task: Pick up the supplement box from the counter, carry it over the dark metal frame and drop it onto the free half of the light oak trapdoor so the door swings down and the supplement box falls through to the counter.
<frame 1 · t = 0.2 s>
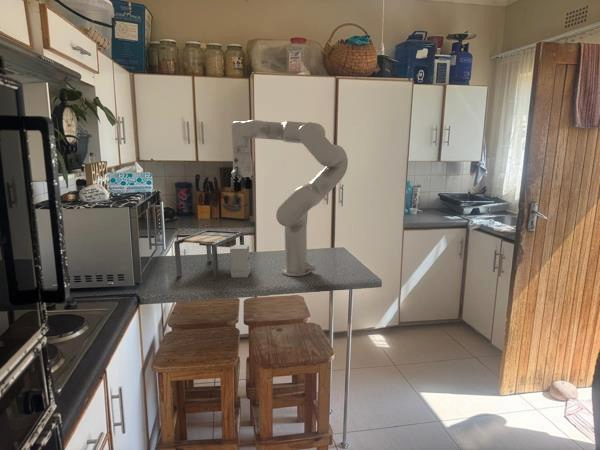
hand: (243, 190, 174), 36 cm above the countertop, tool pointing down, fingers open, 9 cm apart
supplement box: (241, 275, 171), on the countertop
frame: (215, 268, 181), on the countertop
trapdoor: (210, 242, 176), point 13 cm above the countertop, hinge at 0.0°
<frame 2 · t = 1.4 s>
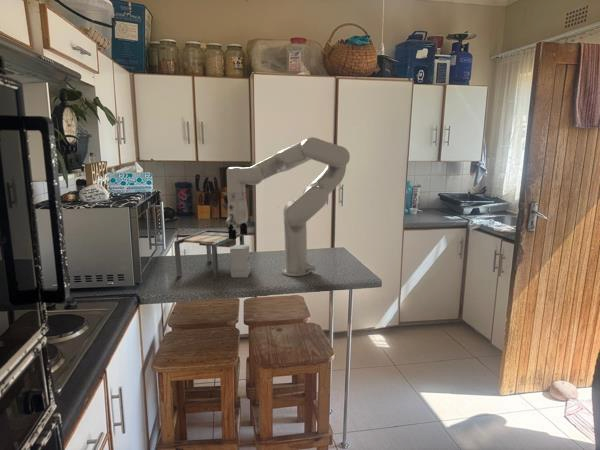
hand: (238, 236, 168), 17 cm above the countertop, tool pointing down, fingers open, 9 cm apart
nothing on the countertop moved.
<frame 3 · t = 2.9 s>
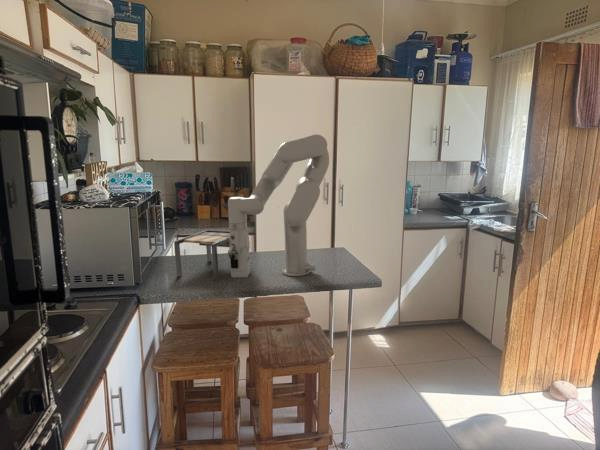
hand: (240, 264, 170), 4 cm above the countertop, tool pointing down, fingers closed on supplement box, 9 cm apart
supplement box: (241, 275, 171), on the countertop, touching gripper
everything else where it was.
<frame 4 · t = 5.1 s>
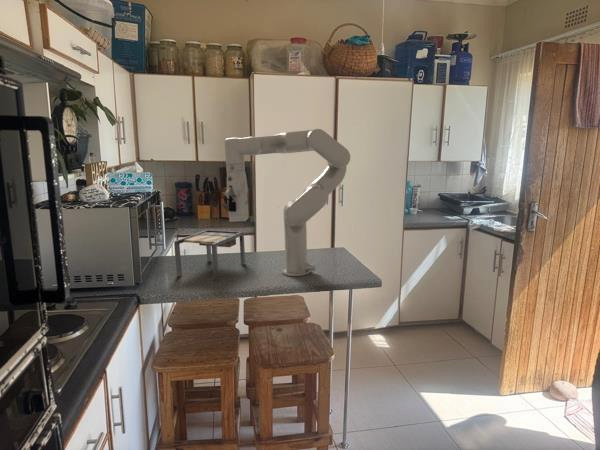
hand: (238, 209, 166), 29 cm above the countertop, tool pointing down, fingers closed on supplement box, 8 cm apart
supplement box: (239, 220, 167), point 24 cm above the countertop, touching gripper
everything else where it was.
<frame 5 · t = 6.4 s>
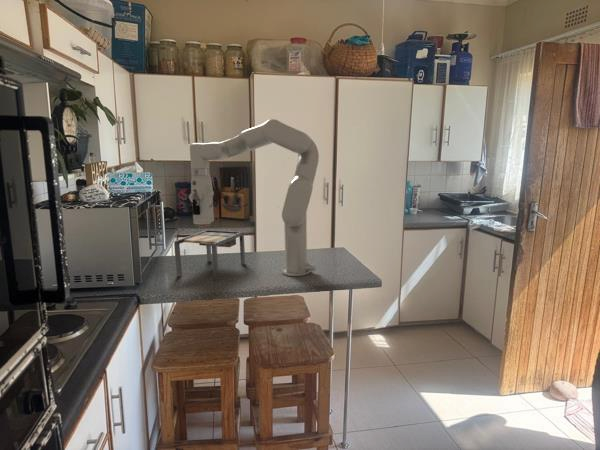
hand: (203, 212, 170), 27 cm above the countertop, tool pointing down, fingers closed on supplement box, 8 cm apart
supplement box: (204, 223, 171), point 22 cm above the countertop, touching gripper
everything else where it was.
when the fingers open (22 cm above the countertop, at t = 7.5 s): supplement box drops 3 cm, resting on trapdoor.
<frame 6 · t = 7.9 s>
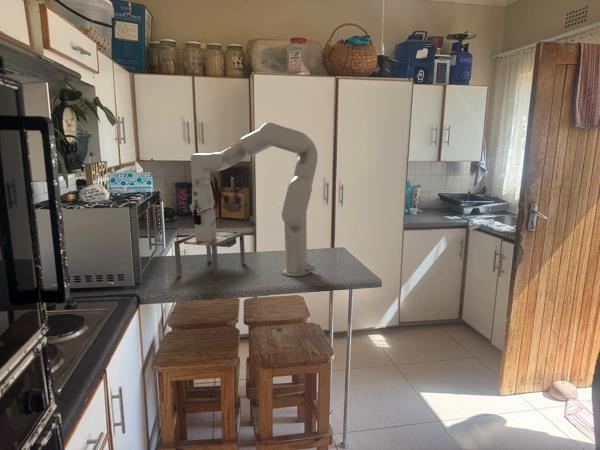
hand: (204, 222, 171), 23 cm above the countertop, tool pointing down, fingers open, 9 cm apart
supplement box: (206, 239, 173), point 15 cm above the countertop, touching gripper, trapdoor
trapdoor: (211, 242, 177), point 13 cm above the countertop, hinge at -4.1°, touching supplement box
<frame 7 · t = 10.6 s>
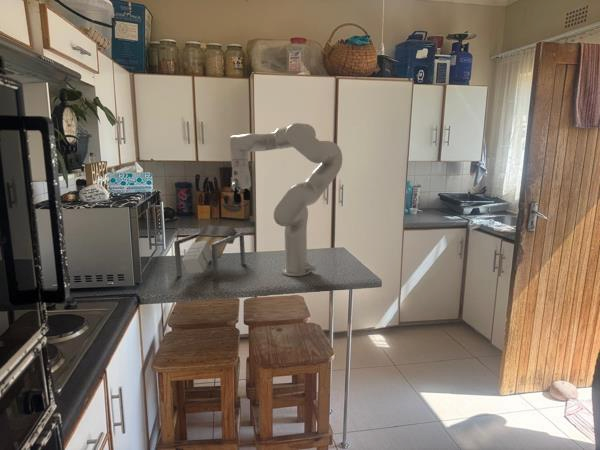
hand: (242, 201, 180), 30 cm above the countertop, tool pointing down, fingers open, 9 cm apart
supplement box: (203, 247, 170), point 12 cm above the countertop
trapdoor: (213, 243, 178), point 12 cm above the countertop, hinge at -38.8°
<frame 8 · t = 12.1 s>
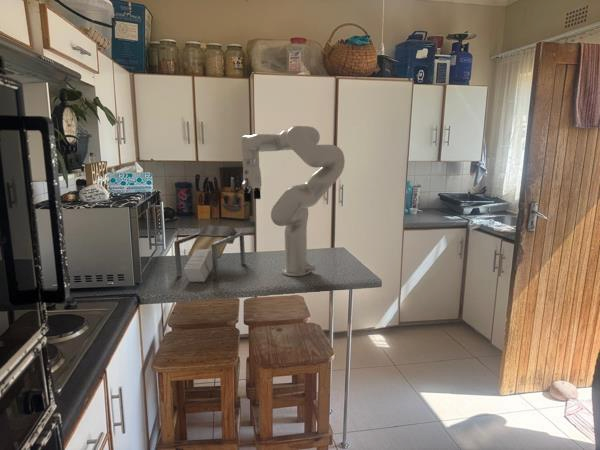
hand: (252, 200, 183), 30 cm above the countertop, tool pointing down, fingers open, 9 cm apart
supplement box: (205, 255, 170), point 9 cm above the countertop, touching trapdoor
trapdoor: (213, 243, 178), point 12 cm above the countertop, hinge at -38.7°, touching supplement box
at the end: supplement box point 8.9 cm above the countertop; the gripper is holding nothing; supplement box moved 17.6 cm from its start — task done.
